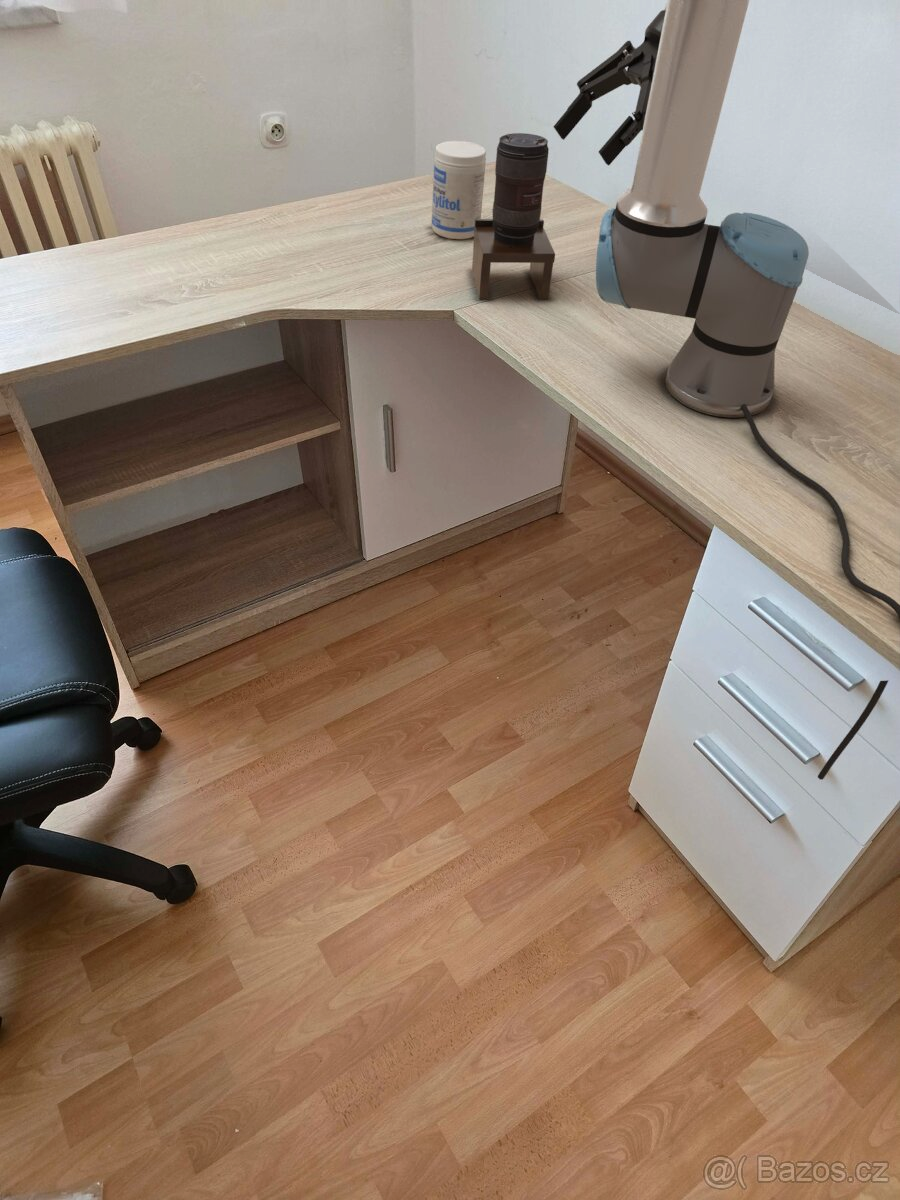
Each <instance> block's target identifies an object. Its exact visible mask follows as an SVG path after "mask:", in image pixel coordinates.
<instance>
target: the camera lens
mask: <svg viewBox="0 0 900 1200" xmlns="http://www.w3.org/2000/svg"><path fill="white" fill-rule="evenodd" d="M498 139H499V142H498V144H497V147H496V157H495V172H494V173H495V185H494V196H493V203H492V219H493V229H494V238H495V240H496V241H498V242H499V243H501V244H504V245H508V246H525V245H529V244H531V243H532V242H533V240H534V235H535V233H536V232H537V230H538V225H539V221H540V219H541V216H542V215H541V214H542V202H543V193H544V186H545V185H544V183H545V180H546V173H547V170H548V161H549V154H550V153H549V149H550V148H549V146H548V143H549V140H548V139H547V138H545V137H544V136H541V135H538V134H533V133H523V132H515V133H514V132H513V133H507V134H504V135H501V136H500V137H499V138H498Z"/></svg>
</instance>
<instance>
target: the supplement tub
mask: <svg viewBox="0 0 900 1200" xmlns="http://www.w3.org/2000/svg"><path fill="white" fill-rule="evenodd" d="M434 152H435V153H434V157H433V158H434V159H433V178H432V179H433V181H432V199H431V201H432V205H431V229H432V231H433V232H434V233H435V234H436V235H438V236H440V237H443V238H446V239H450V240H454V239H455V240H467V239H471V238H474V225H475V219H482V211H483V210H482V209H483V198H484V187H485V175H486V163H487V158H486V155H487V151H486V148H485V147H483V146H482V145H480V144H477V143H474V142H472V141H464V140H447V141H442V142H440V143H438V144H437V145H436V146H435V151H434Z"/></svg>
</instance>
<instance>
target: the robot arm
mask: <svg viewBox="0 0 900 1200" xmlns="http://www.w3.org/2000/svg"><path fill="white" fill-rule="evenodd" d="M749 3H750V0H667V2H666V4H665V5H664V9H663V10H660V11H659V12H658V14H657V15H656V16H655V17H654V18H653V20H652V21H651V22H650V24H649V25H648V26H647V27H646V29H645V31H644V38H643V39H644V40H643V42H642V43H641V44H640V45H639V46H637V47H635V46H634V45H633V43H632V41H631V40H626V41H625V42H624V44H622V46H620V48H618V49H617V51H616V52H614V53H613V54H612V55H610V56H609V57H608V58H606V59H605V60H604V61H602V62H601V63H600V64H599V65H597V66H596V67H595V68H593V69H592V70H591V71H590V72H588V73H587V74H586V75H584V76H583V77H581V78H580V79H579V80H578V81H577V83H576V87H578V90H579V93H578V95H577V97H575V99H574V100H573V101H572V102H571V104H570V105H569V106H567V109H566V110H565V112H564V113H563V114H562V115H561V117H560V118H559V119H558V120H557V121H556V123H555V124H554V125H553V129H554V130H555V131H556V133H557V134H558V136H559V137H560V139H561V140H563V141H564V140H565V139H566V138H567V137H568V136H569V134H570V133H571V132H572V131H573V130H574V129H575V127H576V126H577V125H578V124H579V122H581V120H582V119H583V118H584V117H585V116H586V115H587V113H588V112H589V111H590V109H591V108H592V107H593V102H594V101H596V100H598V99H600V98H601V97H603V96H605V95H607V94H609V93H610V92H613V91H614V90H616V89H618V88H620V87H622V86H630V85H632V84H633V85H634V86H636V85H637V86H639V87H640V89H639V94H638V98H637V102H636V107H635V111H633V112H631V114H632V116H631V115H628V116H627V118H626V119H625V120H624V121H623V122H622V123H621V125H620V126H619V127H618V128H617V129H616V130H615V131H614V133H612V135H611V136H610V137H609V138H608V140H607V141H606V142H605V143H604V144H603V145H602V147H601V148H600V149H599V151H598V154H599V155H600V157H601V159H602V160H603V162H604V164H606V165H607V166H610V165H612V163H613V162H614V161H615V160H616V158H617V157H618V156H619V155H620V154H621V153H622V152H623V151H624V149H625V148H626V147H628V146H629V145H630V144H631V143H632V142H633V141H634V140H635V138H636V137H637V136H638V135H639V134H640V133H641V137H640V141H639V147H638V152H637V157H636V163H635V167H634V172H633V176H632V177H633V178H632V183H631V186H630V187H629V188H628V189H626V190H625V191H624V192H622V193H621V194H620V195H619V196H618V197H617V200H616V203H615V208H614V207H613V208H611V209H608V210H606V211H605V212H604V213H603V216H602V218H601V222H600V223H601V224H600V227H599V237H598V244H597V249H596V259H595V262H596V263H595V286H596V291H597V294H598V296H599V298H600V299H601V300H602V301H604V302H605V303H608V304H612V305H618V306H621V307H624V308H625V309H629V310H631V309H635V310H641V311H648V312H653V313H659V314H665V315H671V316H678V317H683V318H688V319H695V320H694V323H693V327H692V330H691V332H690V334H689V335H688V337H687V339H686V340H685V342H684V343H683V345H682V346H681V348H680V349H679V351H678V352H677V353H676V355H675V357H674V358H673V359H672V361H671V363H670V364H669V366H668V369H667V372H666V376H665V387H666V389H667V391H668V392H669V394H670V395H671V396H672V397H673V398H674V399H675V400H676V401H678V403H680V404H682V405H683V406H685V407H688V408H689V409H692V410H694V411H696V412H699V413H703V414H706V415H710V416H714V417H719V418H720V417H721V418H732V419H733V418H734V419H735V418H745V420H746V421H747V423H748V426H749V428H750V431H751V433H752V435H753V437H754V438H755V440H756V441H757V442H758V444H759V445H760V447H761V448H762V449H763V450H764V451H765V453H767V454H768V456H770V457H771V458H772V459H773V460H774V461H775V462H777V464H779V465H780V466H781V467H782V468H784V470H786V471H787V472H788V473H790V474H791V475H793V476H794V477H795V478H797V479H799V480H800V481H802V482H803V483H805V484H806V485H808V486H809V487H812V488H813V489H814V490H816V491H817V492H818V493H819V494H820V495H821V496H823V497H824V499H825V500H826V501H827V502H828V503H829V505H830V506H831V508H832V510H833V511H834V514H835V517H836V520H837V522H838V523H837V524H838V526H839V530H840V535H841V538H842V548H841V556H840V557H841V559H840V560H841V566H842V569H843V572H844V574H845V576H846V578H847V579H848V581H850V583H852V584H853V585H854V586H855V587H856V588H857V589H859V590H861V591H863V592H864V593H867V594H868V595H870V596H872V597H875V598H876V599H878V600H880V601H881V602H883V603H885V604H886V605H888V606H889V607H890V608H891V609H892V610H893V611H894V612H895V613H896V614H897V617H898V619H899V620H900V604H899V603H898V602H897V601H896V600H895V599H894V598H892V597H891V596H889V595H887V594H885V592H882V591H880V590H878V589H876V588H874V587H872V586H869V585H868V584H866V583H865V582H863V581H862V580H860V579H859V578H858V577H857V576H856V575H855V574H854V572H853V570H852V568H851V566H850V561H849V560H850V559H849V554H850V546H851V544H850V543H851V542H850V534H849V531H848V527H847V524H846V523H847V522H846V520H845V516H844V514H843V510H842V509H841V506H840V504H839V503H838V502H837V500H836V499H835V498H834V496H833V495H832V494H831V493H830V492H829V491H828V490H827V489H826V488H824V487H823V486H822V485H821V484H820V483H818V482H817V481H815V480H813V479H812V478H810V477H809V476H807V475H805V474H804V473H802V472H800V471H799V470H797V469H796V468H795V467H793V466H792V465H791V464H790V463H789V462H787V460H785V459H784V458H782V457H781V456H780V455H779V454H778V453H777V452H776V451H775V450H774V449H773V448H772V447H771V446H770V444H768V443H767V442H766V440H765V438H763V436H762V435H761V434H760V432H759V430H758V427H757V425H756V422H755V420H754V418H753V416H754V415H756V414H760V413H762V412H763V411H764V410H765V409H767V407H768V406H769V405H770V402H771V400H772V397H773V395H774V391H775V366H776V365H775V361H776V358H775V357H776V348H777V346H778V343H779V340H780V338H781V335H782V332H783V330H784V327H785V323H786V321H787V319H788V316H789V313H790V310H791V308H792V305H793V302H794V300H795V297H796V294H797V292H798V289H799V287H800V286H801V285H802V283H803V280H804V279H803V276H804V272H805V270H806V267H807V266H806V265H807V262H808V260H809V254H810V253H809V252H810V251H809V250H810V249H809V246H808V243H807V241H806V240H805V239H804V237H803V235H801V234H800V233H799V232H798V231H796V230H795V229H794V228H792V227H791V226H789V225H787V224H785V223H784V222H781V221H779V220H777V219H774V218H771V217H769V216H766V215H762V214H759V213H752V212H742V213H740V212H733V213H730V214H728V215H726V216H725V217H724V219H723V220H722V221H721V222H720V225H713V224H709V223H706V219H707V216H708V207H707V205H706V203H705V201H703V199H702V197H701V191H702V188H703V183H704V179H705V175H706V171H707V167H708V164H709V163H708V162H709V159H710V156H711V153H712V148H713V144H714V140H715V135H716V132H717V128H718V124H719V120H720V118H721V117H720V116H721V114H722V110H723V109H722V108H723V104H724V101H725V97H726V93H727V89H728V86H729V81H730V77H731V73H732V69H733V65H734V62H735V58H736V54H737V49H738V46H739V43H740V39H741V34H742V31H743V27H744V22H745V19H746V14H747V10H748V7H749ZM626 68H627V69H626ZM888 683H889V680H880V681H879V682H878V685H877V687H876V688H875V690H874V692H873V694H872V696H871V698H870V700H869V701H868V703H867V705H866V706H865V708H864V710H862V712H861V714H860V716H859V717H858V719H857V720H856V721H855V723H854V724H853V726H852V727H851V729H849V731H848V733H847V734H846V735H845V737H844V738H843V739H842V741H840V743H839V745H838V746H837V747H836V749H835V750H834V751H833V752H832V754H831V755H830V756H829V758H828V760H827V761H826V763H825V764H824V766H823V767H822V768H821V770H820V772H819V773H818V774H817V778H818V779H819V780H824V779H825V777H826V776H827V775H828V773H829V771H830V770H831V769H832V767H833V765H834V764H835V763H836V761H837V760H838V759H839V758H840V756H841V755H842V754H843V752H844V750H845V749H846V748H847V747H848V745H849V744H850V743H851V742H852V740H853V739H854V737H855V736H856V735H857V734H858V732H859V731H860V729H861V728H862V726H864V724H865V722H866V721H867V719H868V718H869V716H870V715H871V713H872V712H873V710H874V708H875V707H876V705H877V703H878V702H879V700H880V698H881V697H882V694H883V693H884V692H885V689H886V686H887V685H888Z"/></svg>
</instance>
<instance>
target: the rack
mask: <svg viewBox="0 0 900 1200" xmlns="http://www.w3.org/2000/svg"><path fill="white" fill-rule="evenodd" d="M544 225H545V220H544V219H541V218H540V221H539V225H538V230H537V232H536V233H535V235H534V240H533V242H532V243H531V244H529V245H525V246H508V245H504V244H501V243H499V242H498V241H496V240H495V238H494V229H493V218H481V219H475V225H474V236H473V247H472V262H471V263H472V265H471V274H472V277H473V281H474V286H475V289H476V294H477V297H478V300H480V301H481V300H483V301H485V300H489V291H490V289H489V288H490V278H491V277H490V276H491V265H492V263H493V264H494V263H496V264H497V263H501V264H503V263H507V264H509V263H511V264H512V263H514V264H516V263H519V264H521V263H523V264H528V263H529V272H528V273H529V275H530V278H531V279H532V283H533V285H534V288H535V291H536V293H537V296H538V298H539V300H540V301H541V300H544V301H545V300H546V301H548V300H549V298H550V291H551V290H550V289H551V282H552V275H553V267H554V264H555V259H556V252H555V250H554V247H553V246H552V244H551V241H550V239H549V237H548V235H547V232H546V231H545V228H544Z"/></svg>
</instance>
